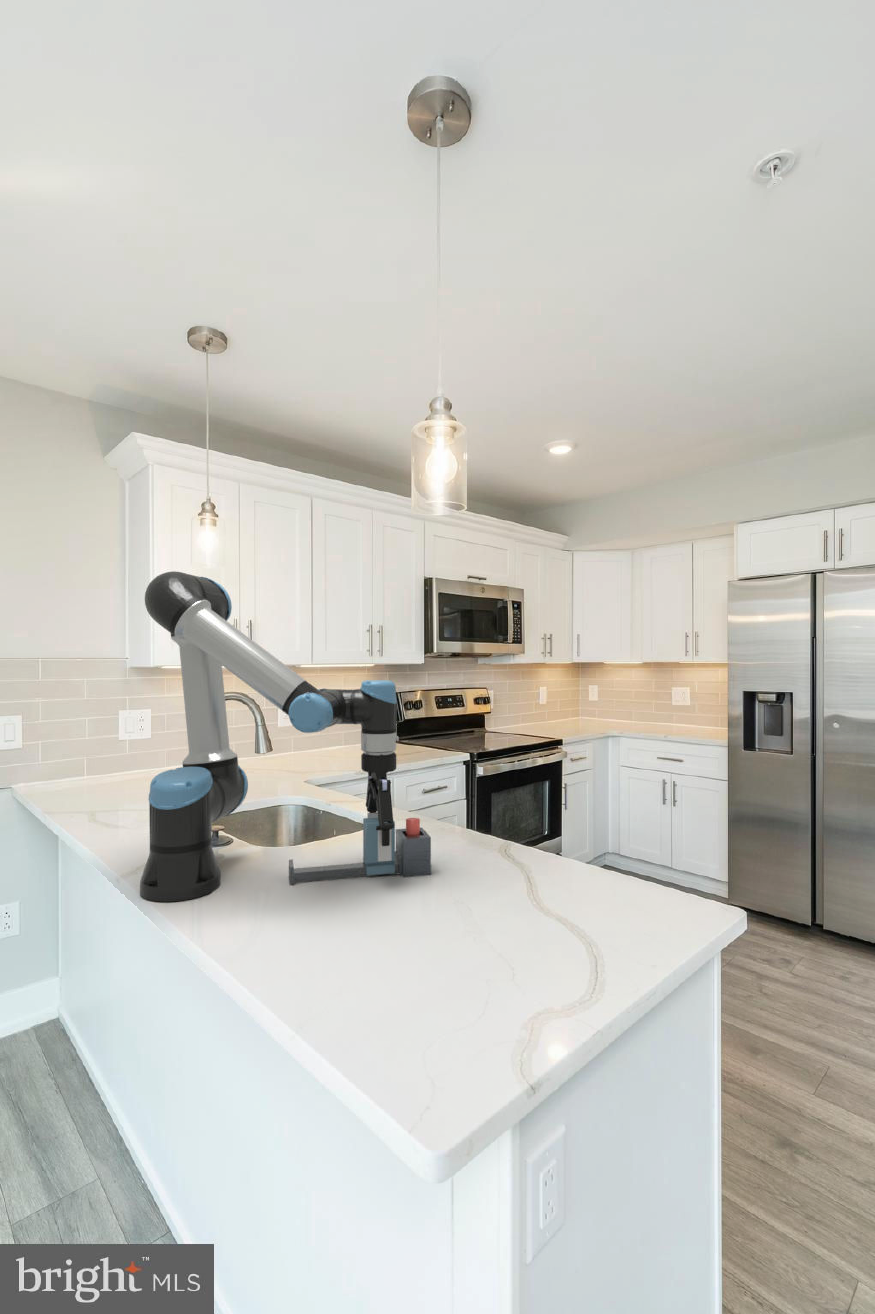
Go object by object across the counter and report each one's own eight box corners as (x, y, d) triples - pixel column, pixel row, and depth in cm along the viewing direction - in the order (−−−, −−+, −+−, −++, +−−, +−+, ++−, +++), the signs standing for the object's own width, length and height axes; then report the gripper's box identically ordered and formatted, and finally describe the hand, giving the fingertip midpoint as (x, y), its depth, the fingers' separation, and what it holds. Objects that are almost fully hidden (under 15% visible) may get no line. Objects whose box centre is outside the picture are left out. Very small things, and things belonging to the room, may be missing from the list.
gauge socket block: (403, 877, 135) (403, 839, 135) (395, 865, 143) (395, 829, 143) (430, 874, 137) (430, 837, 137) (421, 862, 145) (421, 827, 145)
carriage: (366, 875, 135) (366, 824, 135) (363, 867, 140) (363, 818, 140) (394, 872, 136) (394, 822, 136) (390, 865, 141) (390, 816, 141)
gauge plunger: (407, 849, 138) (407, 821, 138) (404, 845, 141) (404, 818, 141) (421, 848, 139) (421, 820, 139) (417, 844, 142) (417, 817, 142)
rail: (289, 885, 131) (289, 867, 131) (288, 876, 135) (288, 859, 135) (403, 874, 137) (403, 857, 137) (398, 867, 142) (398, 850, 142)
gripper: (408, 760, 127) (408, 867, 127) (385, 743, 151) (385, 833, 151) (371, 762, 125) (370, 871, 125) (353, 744, 149) (353, 836, 149)
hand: (378, 850), depth 138 cm, fingers open, 13 cm apart
